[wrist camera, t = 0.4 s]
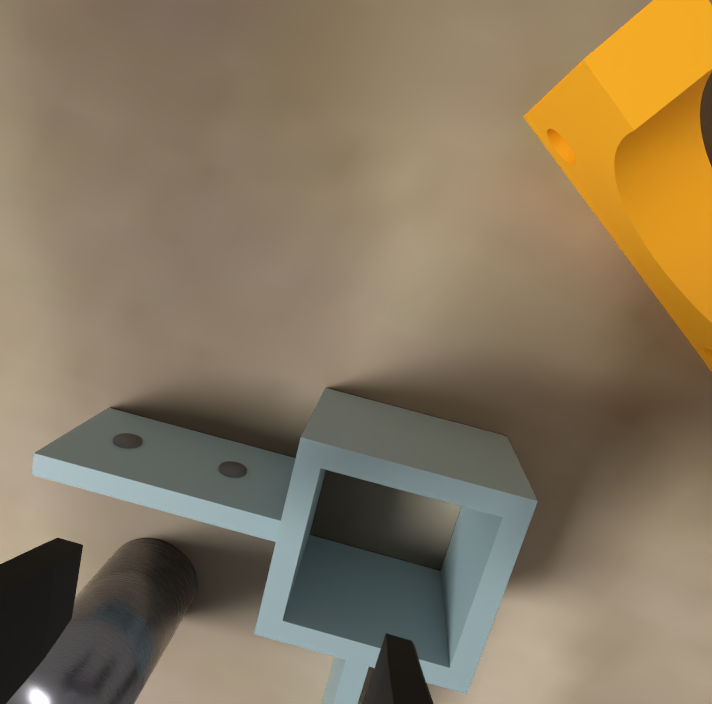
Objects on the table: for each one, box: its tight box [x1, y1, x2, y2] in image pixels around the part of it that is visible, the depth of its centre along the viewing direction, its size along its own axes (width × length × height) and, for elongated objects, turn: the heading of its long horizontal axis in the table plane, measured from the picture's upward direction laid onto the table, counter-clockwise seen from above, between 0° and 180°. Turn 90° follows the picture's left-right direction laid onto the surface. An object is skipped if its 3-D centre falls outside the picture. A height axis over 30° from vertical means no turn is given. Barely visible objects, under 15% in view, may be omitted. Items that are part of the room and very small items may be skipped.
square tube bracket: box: [32, 388, 538, 704], centre depth 20 cm, size 15×16×5 cm
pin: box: [6, 538, 197, 704], centre depth 20 cm, size 4×4×7 cm
